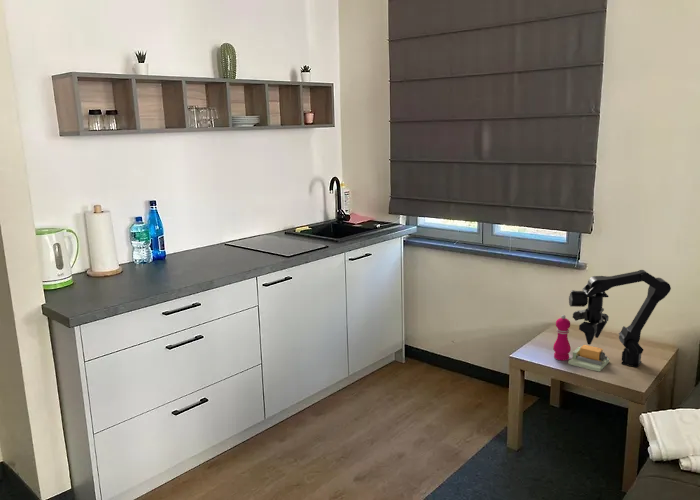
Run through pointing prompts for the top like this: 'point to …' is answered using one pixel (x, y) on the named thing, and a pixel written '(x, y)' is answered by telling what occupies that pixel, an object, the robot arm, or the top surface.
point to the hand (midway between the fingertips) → (592, 341)
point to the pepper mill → (562, 339)
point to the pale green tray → (587, 361)
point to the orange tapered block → (592, 353)
